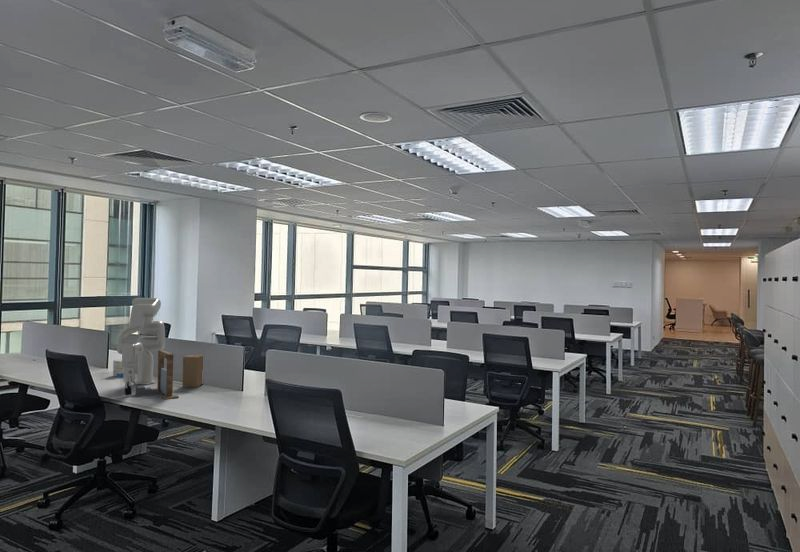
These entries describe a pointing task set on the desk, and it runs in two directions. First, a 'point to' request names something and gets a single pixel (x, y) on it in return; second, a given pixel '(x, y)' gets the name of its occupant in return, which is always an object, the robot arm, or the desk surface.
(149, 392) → the wedge
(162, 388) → the door leaf
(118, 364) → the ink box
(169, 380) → the door frame
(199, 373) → the wooden block
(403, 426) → the desk surface
